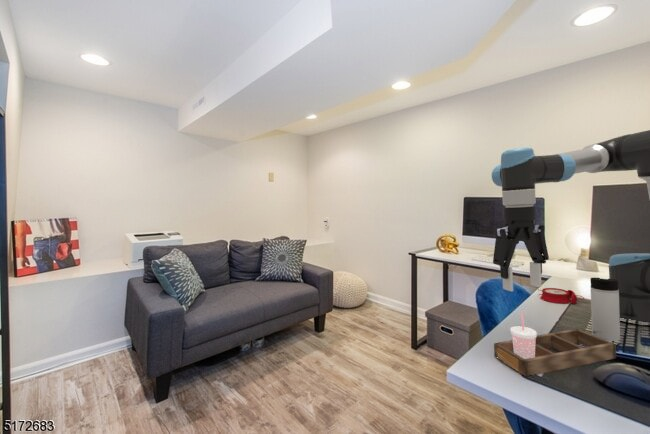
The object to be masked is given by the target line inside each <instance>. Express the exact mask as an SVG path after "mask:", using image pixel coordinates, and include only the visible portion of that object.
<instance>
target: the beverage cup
mask: <svg viewBox="0 0 650 434" xmlns="http://www.w3.org/2000/svg"><path fill="white" fill-rule="evenodd" d="M524 317H525V314H524V312H521V326H520V325H516V326H515V325H514V326H511V327H510V330H509V331H510V334H511V340H513V349H514V353H515V354H517V355H518V356H520V357H522V358H524V359H528V358H533V357H535V342H536V336H538V332H537V331H536V330H535V329H533V328H530V327H528V326H525V318H524Z"/></svg>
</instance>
